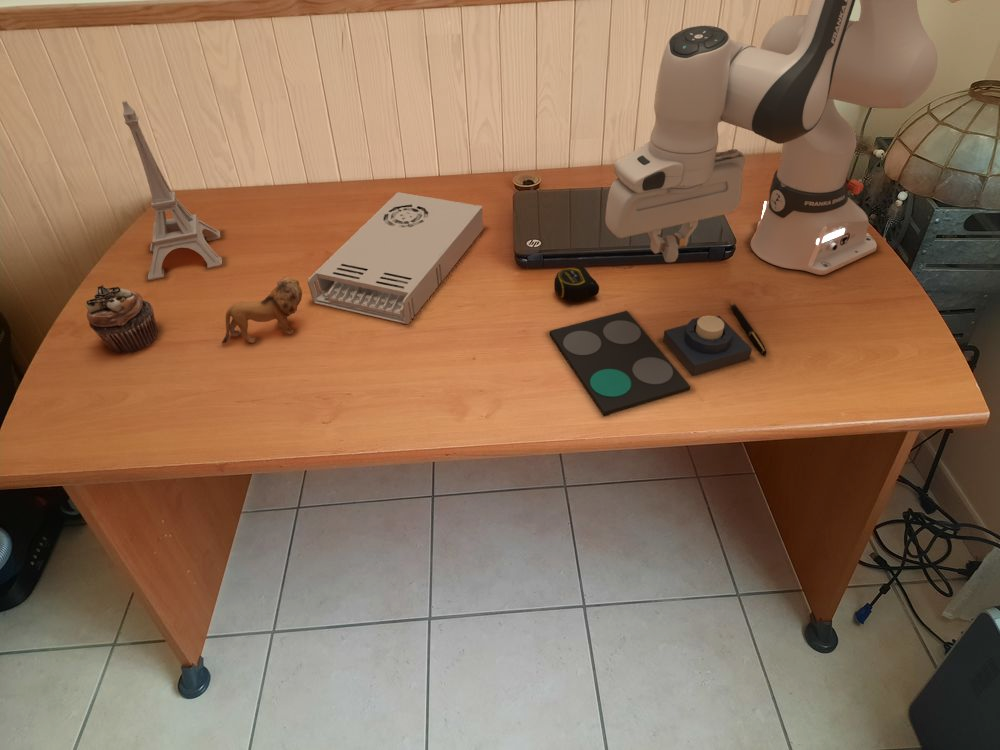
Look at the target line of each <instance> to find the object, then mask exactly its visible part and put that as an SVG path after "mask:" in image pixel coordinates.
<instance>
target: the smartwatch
mask: <svg viewBox="0 0 1000 750" xmlns="http://www.w3.org/2000/svg"><path fill="white" fill-rule="evenodd" d="M661 238H662V240H664V241H665V242H666V246H665V247H664V248H665V251H664V252H661V253H662V256H663V259H664V262H665V263H674V262H676V261H677V259H678V258H679V249H680V248H679V247H678V245H677V242H676V239H675V236H674V234H672V235H664V236H662V237H661Z"/></svg>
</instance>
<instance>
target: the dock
mask: <svg viewBox="0 0 1000 750" xmlns="http://www.w3.org/2000/svg"><path fill="white" fill-rule="evenodd" d="M715 316H716V315H715ZM700 317H701V316H698V317H694V318H692V319H691V320H690V321H689V322H688V323H687V324H683V325H680V326H675V327H673V328H668V329H665V330H664V331H663V337H662V342H663V343H664V344H665V345H666V347H667V348H668V349H669V350H670V351H671V352H672V354H673V355H674V356H675V358H676V359H678V361H679V363H681V364H682V365H683V367H684V368H685V369H686V370H687V371H688V372H689V373H690V375H691V376H692V377H693V376H697V375H701V374H705V373H707V372H711V371H714V370H718V369H721V368H724V367H727V366H731V365H735V364H739V363H742V362H746V361H749V360H750V359H751V355H752V352H753V348H752V347H751V346H750V345H749V344H748V343H747V342H746V341H745V340H744V339H743V338H742V337H741V336H740V335H739V334H738V332H736V331H735V330H734V329H733V327H732V326H731V325H729V324H728V323H727V322H726V320H724V319H723V318H722V317H721V316H720V315H717V316H716V317H718V318H720V319H721V320H722V321H723V322H724V330H723V334H722V336H721V338H719V339H716V340H706V339H704V338H701V337H699V336H698V335H697V334H696V326H697V321H698V319H699V318H700Z"/></svg>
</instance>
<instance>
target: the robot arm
mask: <svg viewBox="0 0 1000 750" xmlns="http://www.w3.org/2000/svg"><path fill="white" fill-rule="evenodd" d="M855 3H856V0H811V2H810V6H809V9H808V12H807V14H795V15H785V16H783V17H781V18H780V19H778V20H777V21H776V22H775V23H774V24H772V25H771V27H770V28H769V30H768V31H767V32H766V34H765V35H764V37H763V39H762V41H761V44H760V47H757V46H754V45H751V44H748V43H743V42H739V41H735V40H732V39H731V37H730V34H729V33H728V32H727V31H726V30H724V29H722V28H721V27H718V26H714V25H713V26H712V25H697V26H691V27H687V28H683V29H682V30H680V31H678V32H676V33H674V34H673V35H672V36H671V37H670V38H669V39H668V41H667V43H666V45H665V47H664V51H663V54H662V57H661V61H660V65H659V69H658V74H657V79H656V86H655V92H654V101H653V110H654V116H655V121H654V125H653V127H652V130H651V133H650V138H649V141H648V142H646V143H645V144H643V145H642V146H640V147H639V148H636V149H634V150H633V151H631V152H630V153H628V154H626V155H624V156H622V157H620V158H618V159H617V160H616V161H615V162H614V164H613V173H614V174H615V176H616V177H617V178H616V179H615V180H614V181H613V182H612V184H611V186H610V188H609V191H608V195H607V200H606V207H605V214H604V215H605V217H604V218H605V219H604V220H605V221H604V222H605V226H606V227H607V229H608V230H609V231H610V232H611V234H612V235H614V236H615V237H616V238H618V239H624V238H628V237H633V236H637V235H642V234H646V233H647V235H648V237H649V239H650V246H649V247H650V250H651V252H653V254H655V255H656V254H660V253H662V252H664V251H665V248H664V247H665V246H666V242H665V241H664V240H662V237H661V236H659V235H661V234H662V230H663V229H668V228H672V227H676V226H680V225H681V227H680V228H679V230H678V232H674V233H673V235H674V236H675V239H676V242H677V245H678V247H679V248H678V249H680V248H684V247H688V242H689V237H691V236H692V234H693V232H694V231H695V230H696V228H697V227H698V225H699V221H701V220H706V219H711V218H715V217H718V216H723V215H727V214H732V213H734V212H735V211H736V210H737V209H738V207H739V206H740V204H741V199H742V192H743V171H744V167H745V162H746V157H745V155H744V153H743V152H742V151H740V150H738V149H737V148H732V149H728V150H726V151H725V150H724V151H718V152H717V150H718V145H719V123H722V122H723V123H726V124H728V125H732V126H734V127H738V128H741V129H745V130H747V131H751V132H753V133H754V134H756V135H758V136H760V137H762V138H764V139H767V140H768V141H770V142H773V143H776V144H778V145H781V144H782V146H781V153H780V157H779V163H778V167H777V169H776V170H775V172H774V174H773V177H772V180H771V185H770V188H769V194H768V195H769V197H768V200H767V201H766V200H765V201H764V203H763V209H762V214H761V219H760V220H759V221H758V222H757V225H756V230H755V232H754V234H753V236H752V238H751V240H750V248H751V251H752V252H753V253H754V254H755V255H756V256H757V257H758V258H760V259H761V260H763V261H765V262H766V263H768V264H771V265H773V266H776V267H780V268H784V269H788V270H797V271H804V272H806V273H807V272H808V273H811V274H814V275H819V276H825V275H827V274H829V273H832V272H833V271H836V270H838V269H840V268H843V267H845V266H848V265H849V264H851V263H854V262H856V261H857V260H860V259H862V258H864V257H866V256H868V255H871V254H873V253H875V252H876V251H877V248H878V244H877V241H876V240H875V239H874V237H873V236H872V235H871V234H870V233H869V232H868V230H869V217H868V215H867V213H866V212H865V211H864V210H863V209H862V208H861V207H860V204H861V202H860V201H859V200H856V199H853V198H851V197H849V193H848V192H849V191H850V192H851V193H852V194H854V195H859V194H860V193H861V192H862V191H863V189H864V184H863V183H862V182H860V181H858V180H857V179H855V178H852V179H848V173H849V171H850V167H851V164H852V162H853V158H854V156H855V151H856V148H857V135H856V132H855V130H854V128H853V126H852V124H850V123H849V122H848V120H846V119H845V118H844V117H843V116H842V115H841V114H840V112H839V111H838V109H837V107H836V104H835V101H838V102H844V103H847V104H852V105H856V106H860V107H866V108H869V109H905V108H907V107H909V106H910V105H912V104H913V103H915V102H916V101H917V100H918V99H920V98H921V97H922V96H923V95H924V93H926V91H927V90H928V89H929V87H930V86H931V84H932V82H933V80H934V78H935V75H936V72H937V68H938V52H937V48H936V45H935V44H934V41H933V40H932V38H931V37H930V36H929V35H928V33H927V32H926V30H925V27H924V25H923V23H922V21H921V18H920V15H919V9H918V1H917V0H859V5H860V13H859V18H858V20H852V19H851V16H852V12H853V10H854V7H855Z"/></svg>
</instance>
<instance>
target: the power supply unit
mask: <svg viewBox="0 0 1000 750" xmlns="http://www.w3.org/2000/svg"><path fill="white" fill-rule="evenodd" d="M484 229H485V228H484V214H483V205H477V204H472V203H467V202H466V203H465V202H459V201H453V200H448V199H442V198H437V197H429V196H423V195H417V194H412V193H405V192H399V191H398V192H396V193H395V194H394V195H393V196H392V197H391V198H390V199H389V200H388V201H386V203H385V204H384V205H382V207H381V208H380V209H378V211H377V212H376V213H374V215H372V216H371V217H370V218H369V219H368V220H367V221H365V223H364V224H363V225H362V226H361V227H360V228H359V229H357V231H356V232H355V233H354V234H353V235H352V236H351V237H349V238H348V239H347V240H346V242H344V243H343V244H342V245H341V246H340V247H339V248H338V249H336V251H335V252H334V253H333V254H332V255H331V256H330V257H329V258H328V259H327V260H326V261H325V262H324V263H323V264H322V265H320V267H319V268H317V269H316V270H315V271H314V272H313V273H312V275H310V276H309V277H308V278H307V286H308V289H309V292H310V296H311V300H312V303H313V304H316V305H322V306H324V307H329V308H332V309H333V308H334V309H338V310H343V311H347V312H351V313H356V314H360V315H365V316H369V317H373V318H378V319H382V320H386V321H390V322H394V323H399V324H404V325H409V323H411V320H412V319H414V317H415V316H416V315H417V314H418V313H419V311H420V310H421V308H422V307H423V306H424V305H425V303H426V302H427V301H428V300H429V298H430V297H431V296H432V295H433V293H434V292H435V291H436V290H437V288H438V287H439V286H440V285H441V282H443V281H444V279H445V278H446V277H447V276H448V275H449V273H450V272H451V271H452V269H453V268H454V267H455V266H456V264H457V263H458V262H459V260H460V259H461V258H462V257H463V255H464V254H465V253H466V251H468V249H469V248H470V247H471V245H472V244H473V243H474V241H475V240H476V239H477V238H478V237H479V235H480V234H481V233H482V232H483V230H484Z"/></svg>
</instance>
